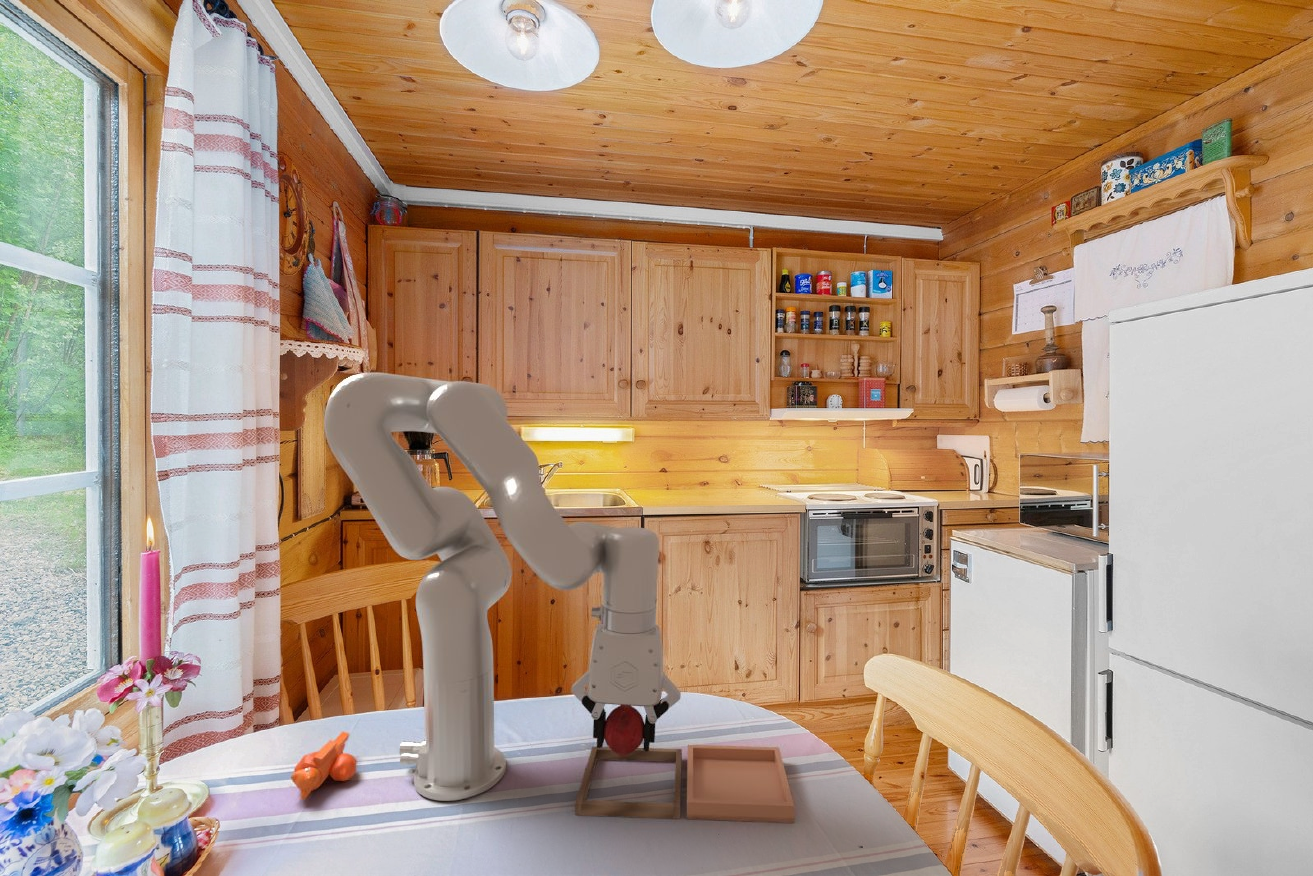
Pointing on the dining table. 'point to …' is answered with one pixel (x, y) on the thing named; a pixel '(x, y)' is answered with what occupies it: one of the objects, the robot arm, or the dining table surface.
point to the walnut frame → (630, 807)
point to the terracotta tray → (737, 784)
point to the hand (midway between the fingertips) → (623, 743)
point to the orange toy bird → (324, 766)
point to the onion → (624, 730)
